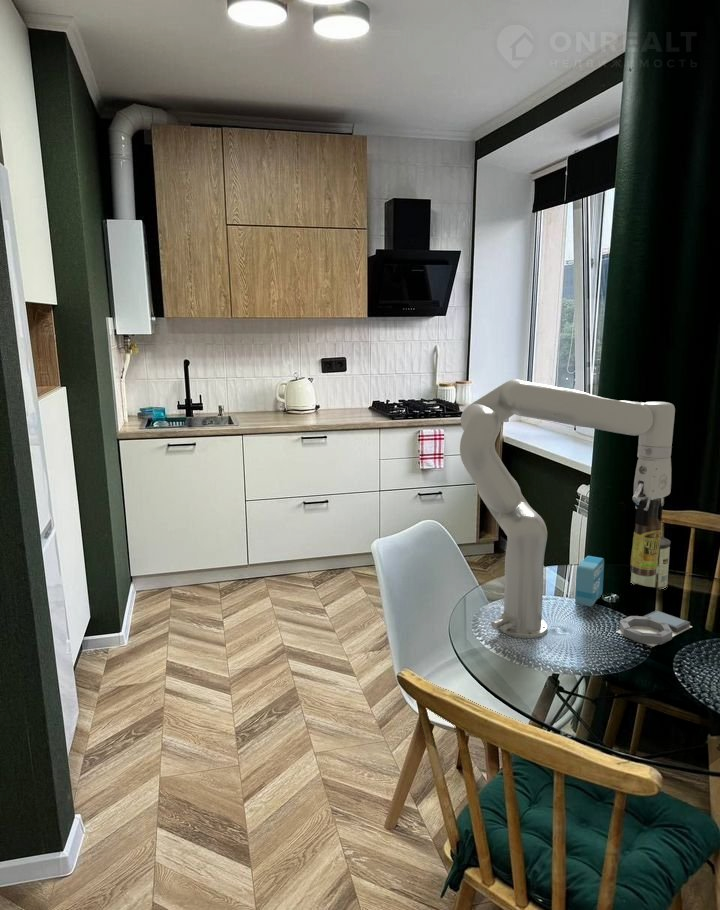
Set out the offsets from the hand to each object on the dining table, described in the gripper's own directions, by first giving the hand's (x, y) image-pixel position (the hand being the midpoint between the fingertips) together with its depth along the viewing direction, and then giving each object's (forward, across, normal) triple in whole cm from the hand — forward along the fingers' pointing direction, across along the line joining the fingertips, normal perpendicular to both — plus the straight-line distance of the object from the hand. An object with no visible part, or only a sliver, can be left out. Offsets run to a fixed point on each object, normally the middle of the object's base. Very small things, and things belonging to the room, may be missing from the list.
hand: (648, 522), depth 162 cm
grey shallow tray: (+28, -1, -5) cm, 28 cm away
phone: (+27, +4, -5) cm, 27 cm away
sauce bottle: (+14, 0, 0) cm, 14 cm away
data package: (+28, +4, +17) cm, 33 cm away
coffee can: (+28, +29, +13) cm, 42 cm away
